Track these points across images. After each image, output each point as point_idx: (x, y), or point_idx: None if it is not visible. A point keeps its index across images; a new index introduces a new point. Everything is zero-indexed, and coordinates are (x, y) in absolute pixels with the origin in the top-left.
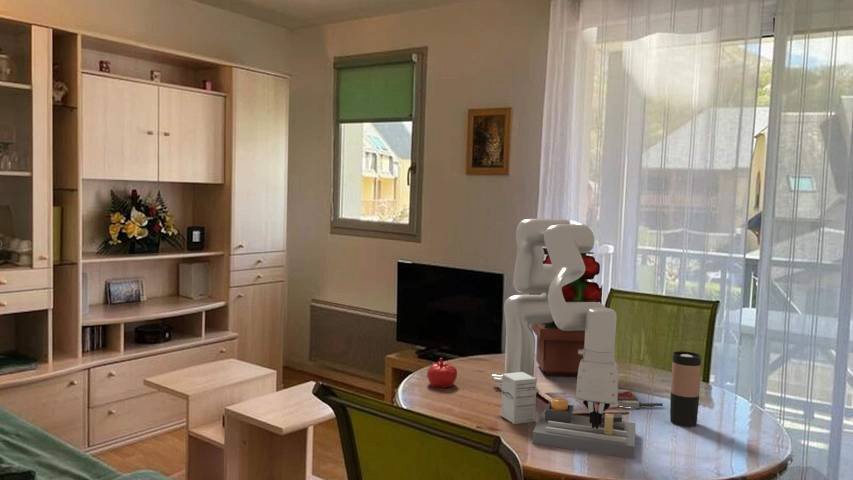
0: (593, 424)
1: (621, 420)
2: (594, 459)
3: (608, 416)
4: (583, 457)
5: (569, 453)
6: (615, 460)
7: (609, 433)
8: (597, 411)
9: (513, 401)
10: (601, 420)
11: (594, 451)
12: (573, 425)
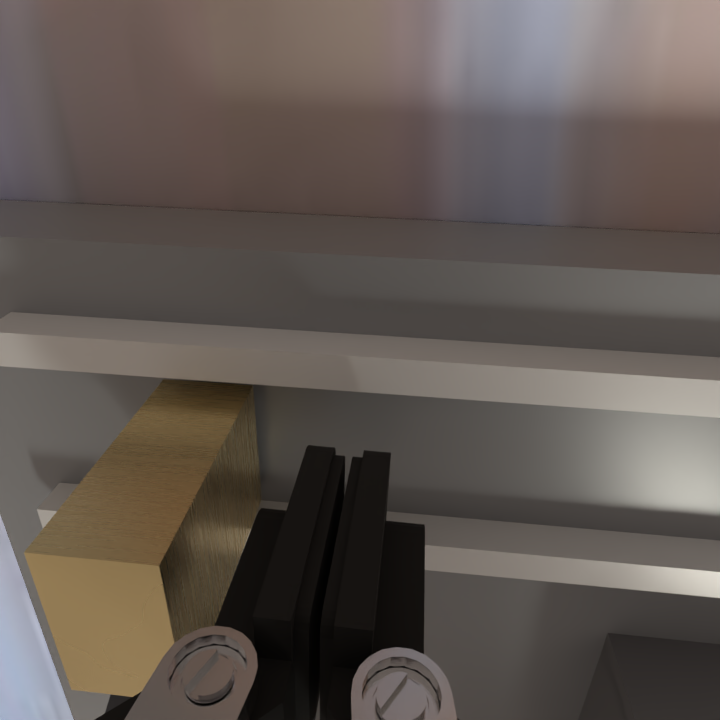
0: (364, 477)
1: (113, 695)
2: (351, 4)
3: (111, 601)
4: (478, 18)
5: (640, 88)
6: (136, 72)
7: (176, 404)
8: (279, 680)
9: None
10: (247, 552)
11: (361, 220)
12: (600, 557)
